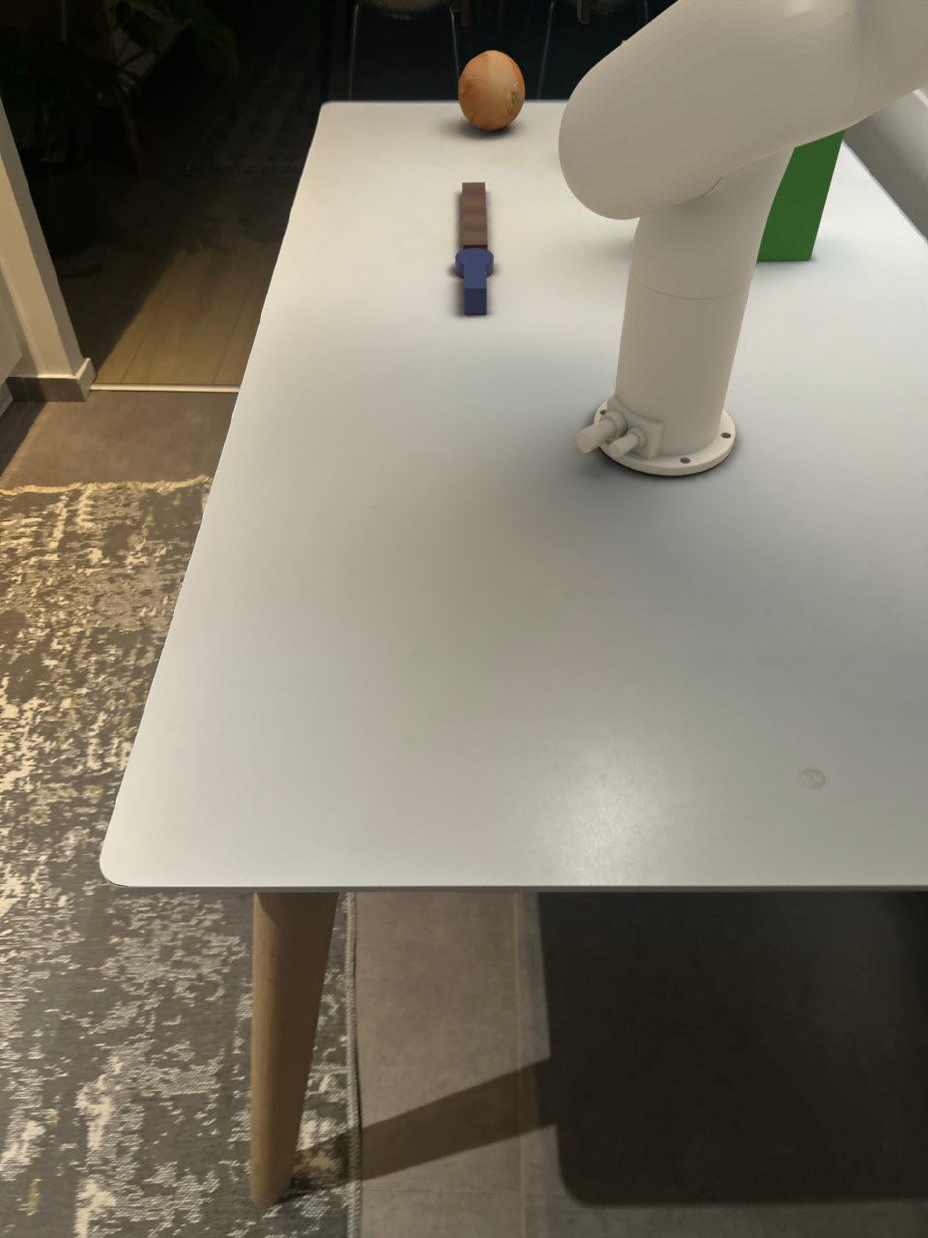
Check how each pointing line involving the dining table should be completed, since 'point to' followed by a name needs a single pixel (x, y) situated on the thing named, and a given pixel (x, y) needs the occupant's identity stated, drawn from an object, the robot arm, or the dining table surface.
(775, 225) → the hardback book
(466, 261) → the blue block and puck
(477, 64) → the onion
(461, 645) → the dining table surface
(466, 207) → the walnut strip
